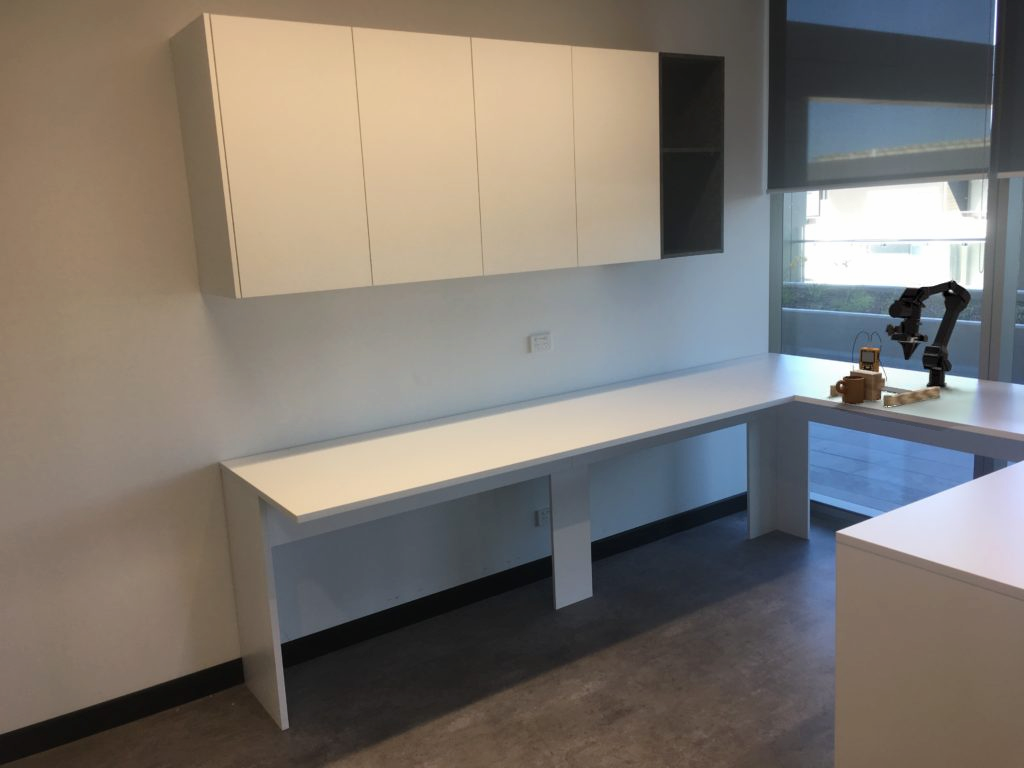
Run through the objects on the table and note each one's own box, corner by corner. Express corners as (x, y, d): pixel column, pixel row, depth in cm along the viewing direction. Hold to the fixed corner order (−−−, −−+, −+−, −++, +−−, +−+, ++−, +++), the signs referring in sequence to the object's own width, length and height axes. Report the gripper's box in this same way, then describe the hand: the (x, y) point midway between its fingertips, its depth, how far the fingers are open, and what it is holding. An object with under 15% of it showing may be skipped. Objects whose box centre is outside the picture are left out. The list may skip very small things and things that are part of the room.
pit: (885, 387, 328) (885, 386, 328) (933, 395, 310) (933, 394, 309) (873, 389, 325) (873, 388, 325) (921, 398, 306) (921, 396, 306)
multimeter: (841, 380, 345) (842, 333, 341) (854, 377, 351) (855, 330, 347) (874, 384, 333) (875, 335, 330) (887, 381, 339) (889, 332, 335)
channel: (880, 386, 330) (880, 376, 329) (939, 396, 307) (940, 385, 307) (830, 395, 318) (830, 385, 317) (887, 407, 295) (888, 396, 294)
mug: (843, 407, 299) (844, 381, 297) (828, 403, 306) (828, 378, 304) (868, 402, 303) (869, 377, 302) (853, 399, 310) (853, 374, 308)
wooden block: (858, 395, 313) (859, 369, 312) (881, 399, 305) (882, 372, 303) (849, 397, 311) (850, 371, 309) (871, 401, 303) (872, 374, 301)
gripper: (902, 318, 326) (896, 357, 328) (879, 316, 314) (874, 357, 316) (931, 320, 317) (925, 360, 319) (909, 319, 305) (903, 361, 307)
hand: (906, 360), depth 315 cm, fingers closed
